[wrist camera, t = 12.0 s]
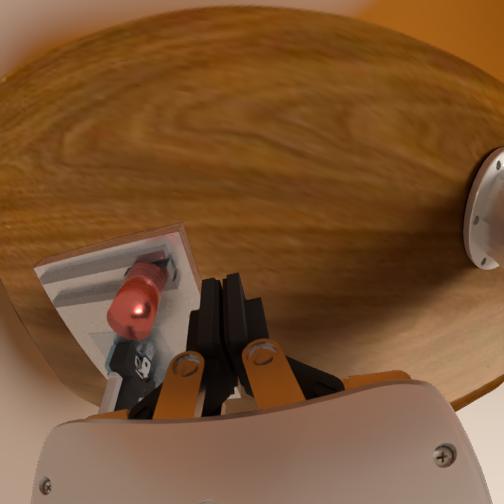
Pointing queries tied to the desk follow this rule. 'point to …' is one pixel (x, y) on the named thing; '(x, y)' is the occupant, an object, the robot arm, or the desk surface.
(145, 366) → the push button
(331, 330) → the desk surface
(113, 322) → the lever
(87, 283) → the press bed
